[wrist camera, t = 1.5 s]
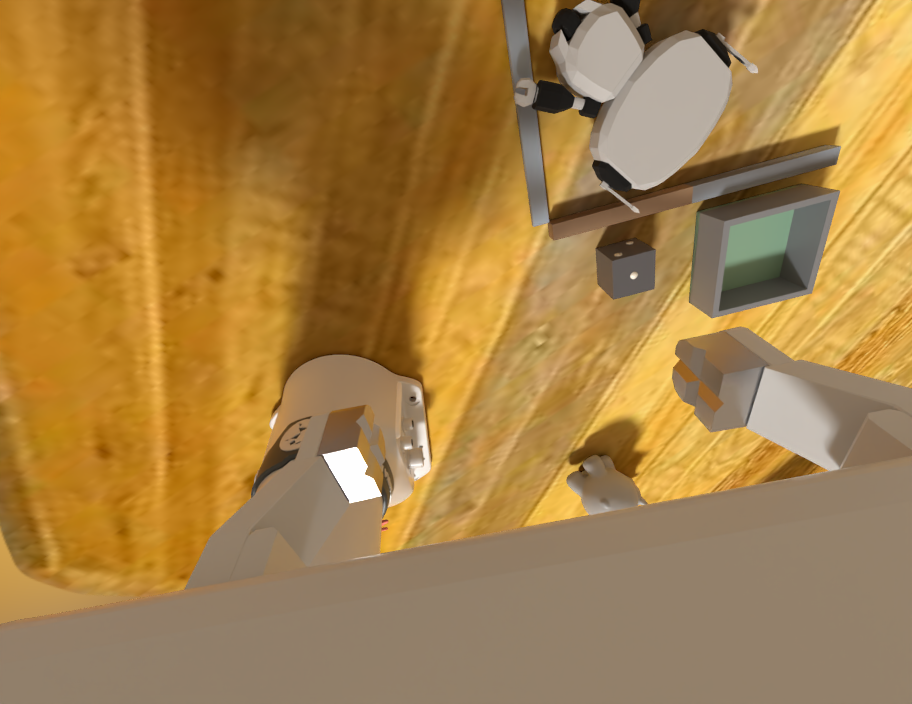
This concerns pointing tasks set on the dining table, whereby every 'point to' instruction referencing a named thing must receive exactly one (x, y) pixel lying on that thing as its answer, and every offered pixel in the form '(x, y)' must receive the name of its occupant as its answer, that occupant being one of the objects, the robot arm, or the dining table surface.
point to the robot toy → (635, 90)
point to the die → (626, 268)
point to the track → (644, 203)
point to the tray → (760, 249)
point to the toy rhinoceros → (604, 486)
